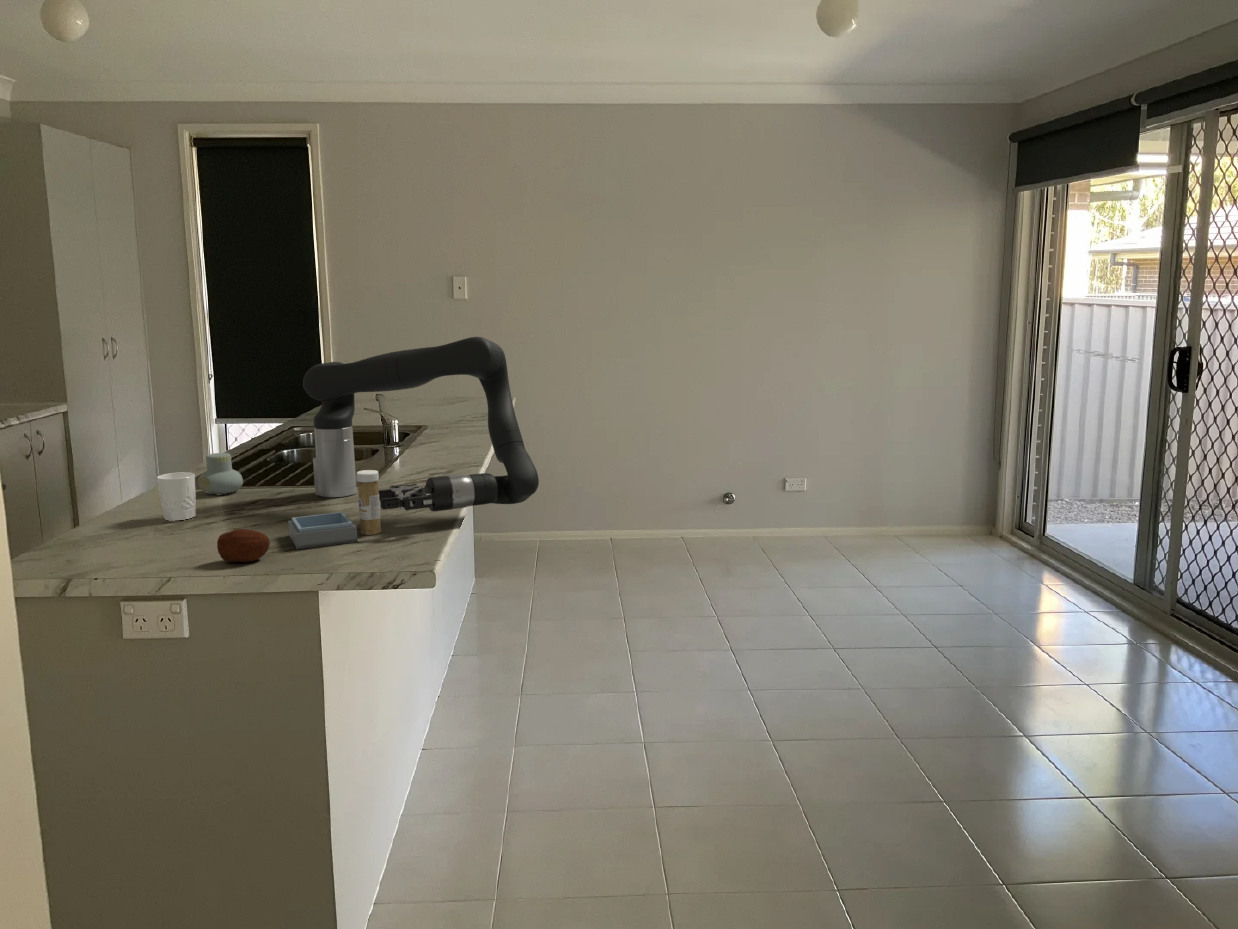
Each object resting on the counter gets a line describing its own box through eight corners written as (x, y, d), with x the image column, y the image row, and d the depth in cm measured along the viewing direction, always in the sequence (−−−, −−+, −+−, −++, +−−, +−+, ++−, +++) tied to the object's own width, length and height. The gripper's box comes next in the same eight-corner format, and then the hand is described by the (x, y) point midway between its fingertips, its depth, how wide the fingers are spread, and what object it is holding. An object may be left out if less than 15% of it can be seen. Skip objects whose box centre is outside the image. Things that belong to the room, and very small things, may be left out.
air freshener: (247, 493, 247) (244, 454, 245) (216, 498, 241) (212, 459, 239) (227, 487, 255) (223, 450, 253) (196, 492, 249) (192, 454, 247)
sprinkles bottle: (355, 533, 207) (351, 471, 204) (373, 529, 210) (369, 468, 208) (368, 536, 204) (364, 474, 201) (386, 532, 207) (382, 471, 205)
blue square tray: (297, 549, 195) (295, 530, 194) (289, 535, 206) (287, 517, 205) (357, 541, 200) (356, 523, 199) (346, 528, 211) (345, 510, 210)
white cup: (206, 515, 224) (202, 473, 222) (181, 523, 217) (176, 480, 215) (179, 513, 227) (175, 471, 225) (153, 521, 220) (148, 478, 218)
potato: (228, 556, 191) (225, 524, 190) (275, 555, 191) (273, 523, 190) (214, 566, 184) (211, 533, 183) (263, 565, 184) (260, 533, 183)
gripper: (440, 470, 219) (368, 477, 212) (458, 481, 206) (382, 489, 199) (441, 502, 220) (370, 510, 213) (460, 515, 208) (384, 524, 201)
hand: (376, 500), depth 206 cm, fingers open, 8 cm apart
